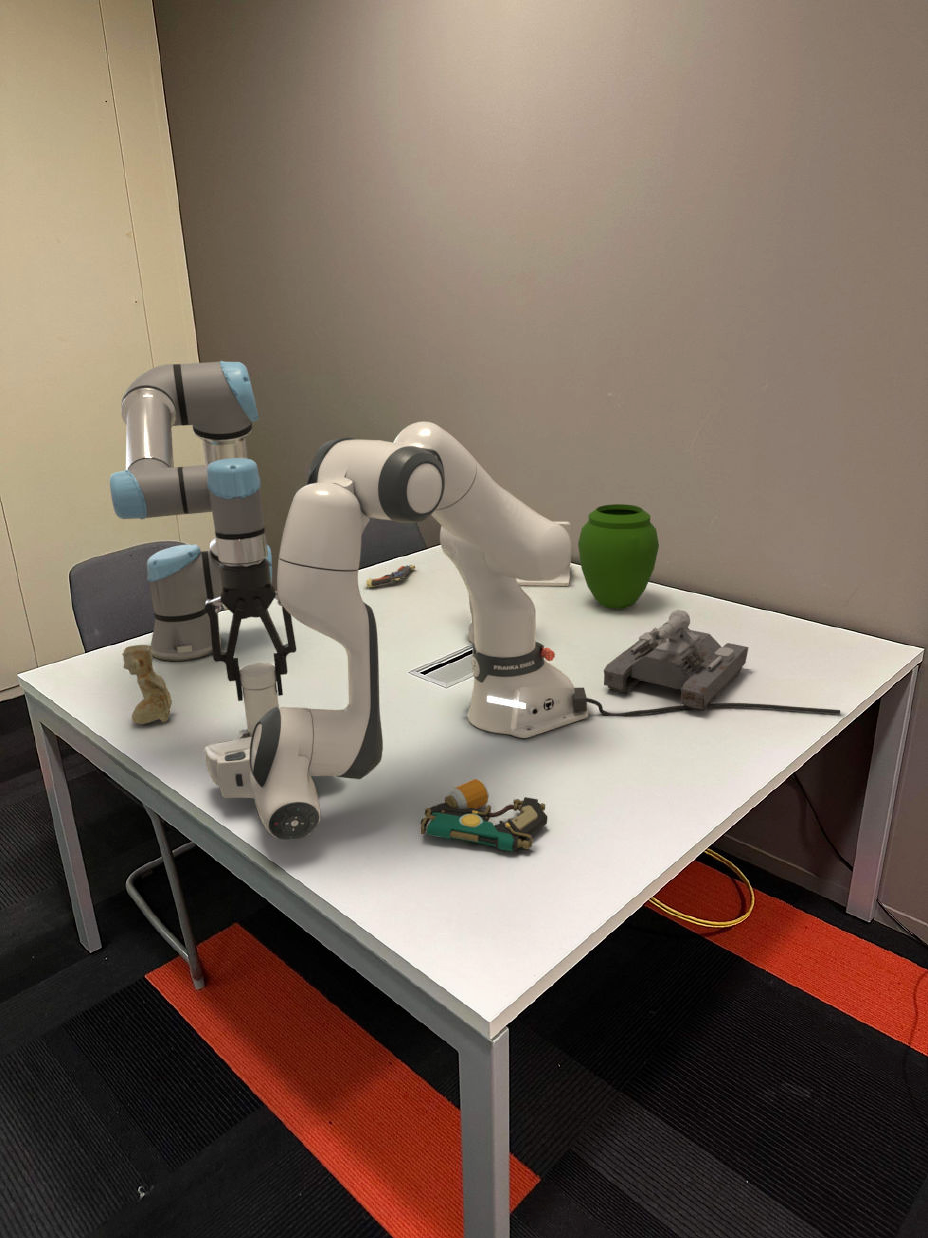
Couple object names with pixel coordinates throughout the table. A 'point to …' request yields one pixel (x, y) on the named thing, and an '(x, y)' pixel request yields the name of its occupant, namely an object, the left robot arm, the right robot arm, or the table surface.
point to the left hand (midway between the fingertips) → (260, 694)
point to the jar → (259, 704)
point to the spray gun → (483, 818)
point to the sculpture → (147, 686)
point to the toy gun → (391, 576)
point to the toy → (678, 662)
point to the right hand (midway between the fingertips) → (264, 729)
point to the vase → (618, 554)
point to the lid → (258, 676)
